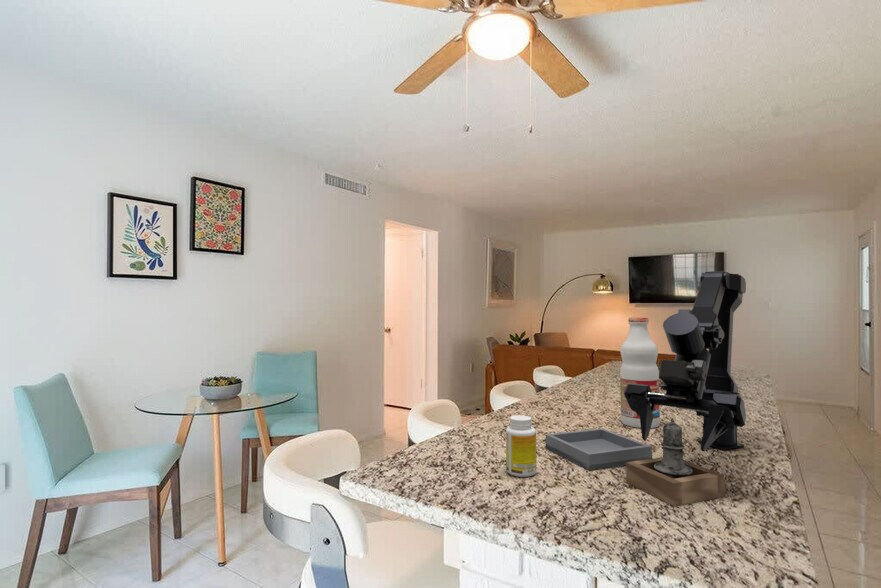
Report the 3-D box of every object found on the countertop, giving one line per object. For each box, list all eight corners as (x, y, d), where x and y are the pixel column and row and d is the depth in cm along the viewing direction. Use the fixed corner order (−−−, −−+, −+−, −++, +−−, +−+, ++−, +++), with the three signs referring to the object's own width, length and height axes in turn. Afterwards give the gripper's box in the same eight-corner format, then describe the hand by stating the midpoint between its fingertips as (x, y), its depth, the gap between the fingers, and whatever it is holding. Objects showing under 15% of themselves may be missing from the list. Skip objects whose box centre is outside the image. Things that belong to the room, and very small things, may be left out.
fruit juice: (629, 418, 129) (627, 317, 130) (665, 424, 123) (663, 317, 124) (614, 424, 123) (613, 317, 124) (652, 431, 116) (649, 318, 117)
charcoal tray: (602, 441, 107) (602, 428, 107) (652, 461, 93) (652, 446, 93) (545, 448, 102) (545, 434, 102) (589, 470, 88) (589, 454, 88)
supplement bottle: (542, 475, 86) (542, 419, 86) (517, 480, 84) (517, 422, 84) (524, 466, 91) (524, 413, 91) (500, 470, 89) (500, 416, 89)
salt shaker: (698, 497, 75) (696, 422, 76) (659, 495, 77) (657, 421, 77) (686, 484, 81) (685, 414, 82) (650, 482, 82) (649, 413, 83)
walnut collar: (672, 475, 86) (672, 455, 86) (724, 496, 76) (724, 474, 76) (626, 482, 82) (625, 462, 82) (674, 506, 72) (673, 483, 72)
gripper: (626, 340, 90) (603, 407, 81) (740, 345, 77) (727, 425, 69) (642, 377, 95) (621, 444, 87) (750, 388, 83) (739, 466, 74)
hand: (671, 444), depth 79 cm, fingers open, 9 cm apart
